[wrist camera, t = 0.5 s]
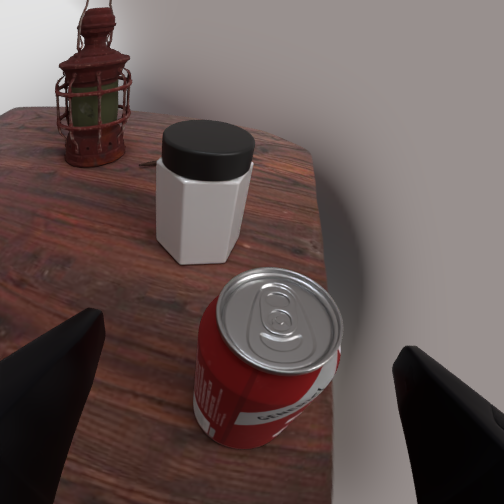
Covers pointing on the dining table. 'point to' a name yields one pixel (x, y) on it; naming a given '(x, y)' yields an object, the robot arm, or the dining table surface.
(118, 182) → the dining table surface
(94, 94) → the lantern
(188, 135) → the jar
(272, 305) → the soda can
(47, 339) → the robot arm
